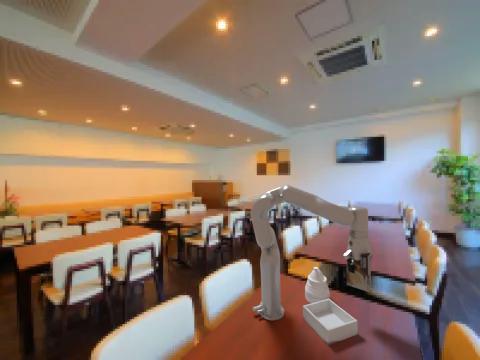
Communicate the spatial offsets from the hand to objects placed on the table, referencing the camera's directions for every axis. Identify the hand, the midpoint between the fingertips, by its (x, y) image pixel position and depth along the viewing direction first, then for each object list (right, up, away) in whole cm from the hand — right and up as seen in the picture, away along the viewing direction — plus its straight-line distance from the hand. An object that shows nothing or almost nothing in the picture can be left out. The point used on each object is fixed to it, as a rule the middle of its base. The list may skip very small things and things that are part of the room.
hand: (358, 270), depth 94 cm
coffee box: (0, -8, 0) cm, 8 cm away
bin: (-15, -24, -2) cm, 29 cm away
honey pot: (-12, -24, +18) cm, 33 cm away
